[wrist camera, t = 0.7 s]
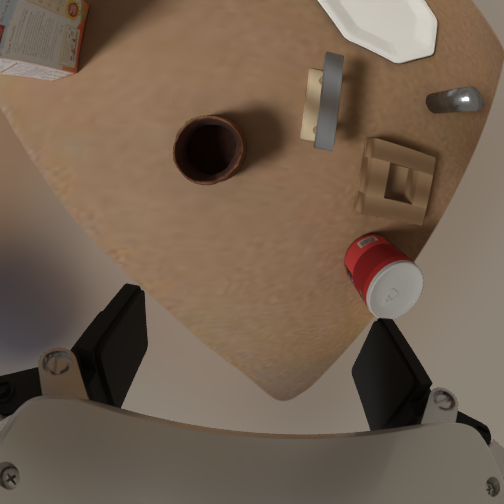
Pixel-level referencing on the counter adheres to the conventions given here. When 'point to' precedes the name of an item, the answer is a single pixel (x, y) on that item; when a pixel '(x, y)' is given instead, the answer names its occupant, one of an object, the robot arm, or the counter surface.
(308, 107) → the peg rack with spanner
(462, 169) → the counter surface
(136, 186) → the counter surface
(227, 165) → the ceramic pot
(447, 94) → the pin
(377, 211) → the block with square hole
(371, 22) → the plate
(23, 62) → the cracker box
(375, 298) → the canned food
